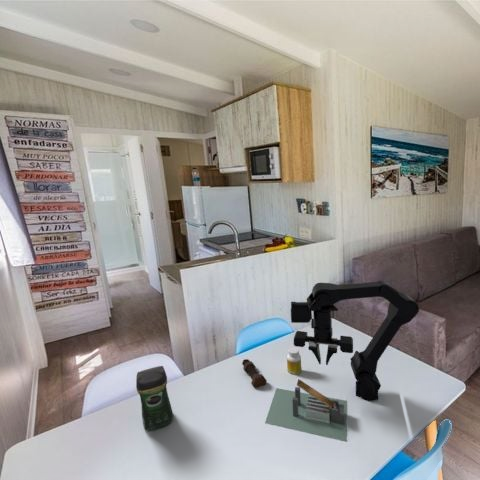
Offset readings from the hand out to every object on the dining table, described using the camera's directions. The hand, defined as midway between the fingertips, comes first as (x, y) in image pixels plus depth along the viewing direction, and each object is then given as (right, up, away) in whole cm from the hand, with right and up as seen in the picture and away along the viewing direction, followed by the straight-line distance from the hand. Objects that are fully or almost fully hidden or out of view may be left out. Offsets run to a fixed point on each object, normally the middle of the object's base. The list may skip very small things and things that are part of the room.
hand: (323, 364), depth 99 cm
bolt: (-23, -12, +15) cm, 30 cm away
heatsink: (-3, -13, -6) cm, 15 cm away
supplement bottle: (-7, -10, +16) cm, 20 cm away
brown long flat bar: (-4, -7, -7) cm, 11 cm away
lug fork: (-10, -13, -4) cm, 17 cm away
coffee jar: (-55, -18, -3) cm, 58 cm away
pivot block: (+1, -13, -8) cm, 15 cm away
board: (-6, -14, -5) cm, 16 cm away
